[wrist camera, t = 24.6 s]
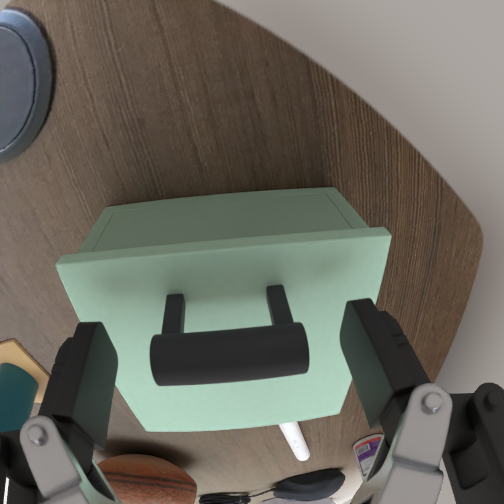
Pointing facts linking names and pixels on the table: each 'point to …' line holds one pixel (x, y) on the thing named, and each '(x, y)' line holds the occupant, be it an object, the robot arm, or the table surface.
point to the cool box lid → (229, 324)
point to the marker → (295, 440)
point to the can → (15, 396)
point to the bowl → (148, 480)
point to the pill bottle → (366, 452)
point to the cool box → (221, 218)
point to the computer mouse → (292, 489)
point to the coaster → (24, 364)
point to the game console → (283, 503)
